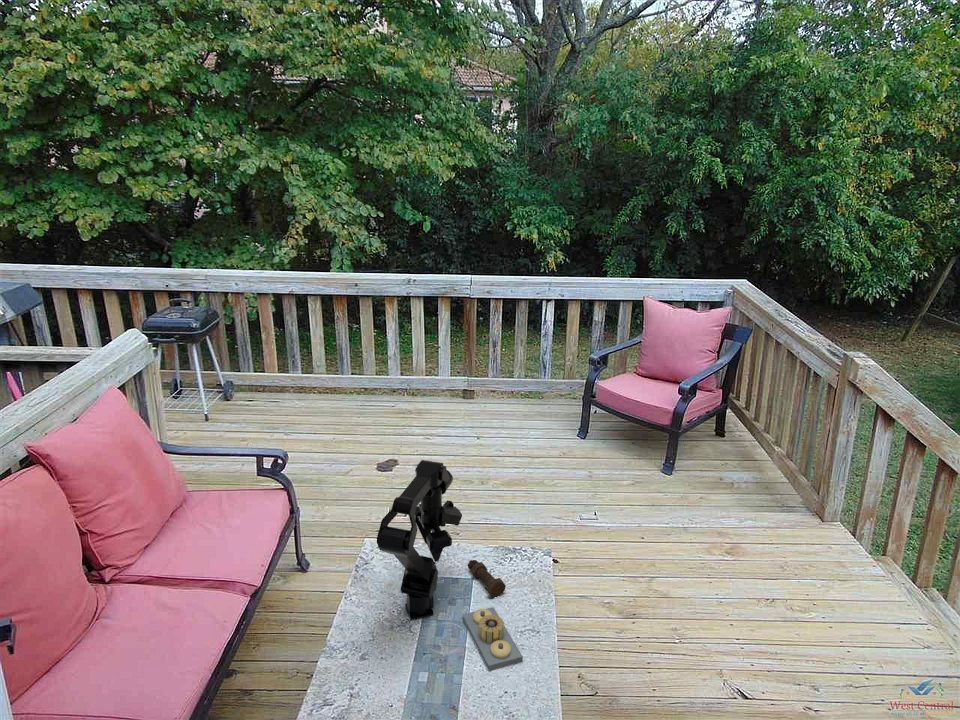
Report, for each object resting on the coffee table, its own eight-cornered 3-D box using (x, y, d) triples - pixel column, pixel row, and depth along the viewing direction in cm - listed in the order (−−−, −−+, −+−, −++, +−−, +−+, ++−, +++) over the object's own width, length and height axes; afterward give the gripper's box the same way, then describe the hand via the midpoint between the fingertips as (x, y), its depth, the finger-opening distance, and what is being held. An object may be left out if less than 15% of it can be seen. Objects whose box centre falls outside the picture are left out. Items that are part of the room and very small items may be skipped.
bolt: (473, 573, 198) (499, 600, 186) (461, 570, 195) (486, 597, 183) (482, 556, 198) (508, 581, 186) (469, 552, 195) (495, 578, 183)
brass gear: (484, 646, 164) (484, 634, 163) (475, 629, 170) (475, 618, 169) (507, 639, 167) (507, 628, 165) (497, 623, 172) (498, 612, 171)
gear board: (488, 670, 159) (489, 652, 157) (462, 619, 176) (462, 601, 174) (522, 661, 162) (523, 643, 160) (493, 611, 179) (493, 594, 177)
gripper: (470, 515, 174) (469, 565, 179) (448, 483, 191) (448, 529, 196) (430, 522, 170) (430, 573, 175) (411, 489, 187) (412, 536, 192)
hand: (431, 552), depth 185 cm, fingers open, 9 cm apart
